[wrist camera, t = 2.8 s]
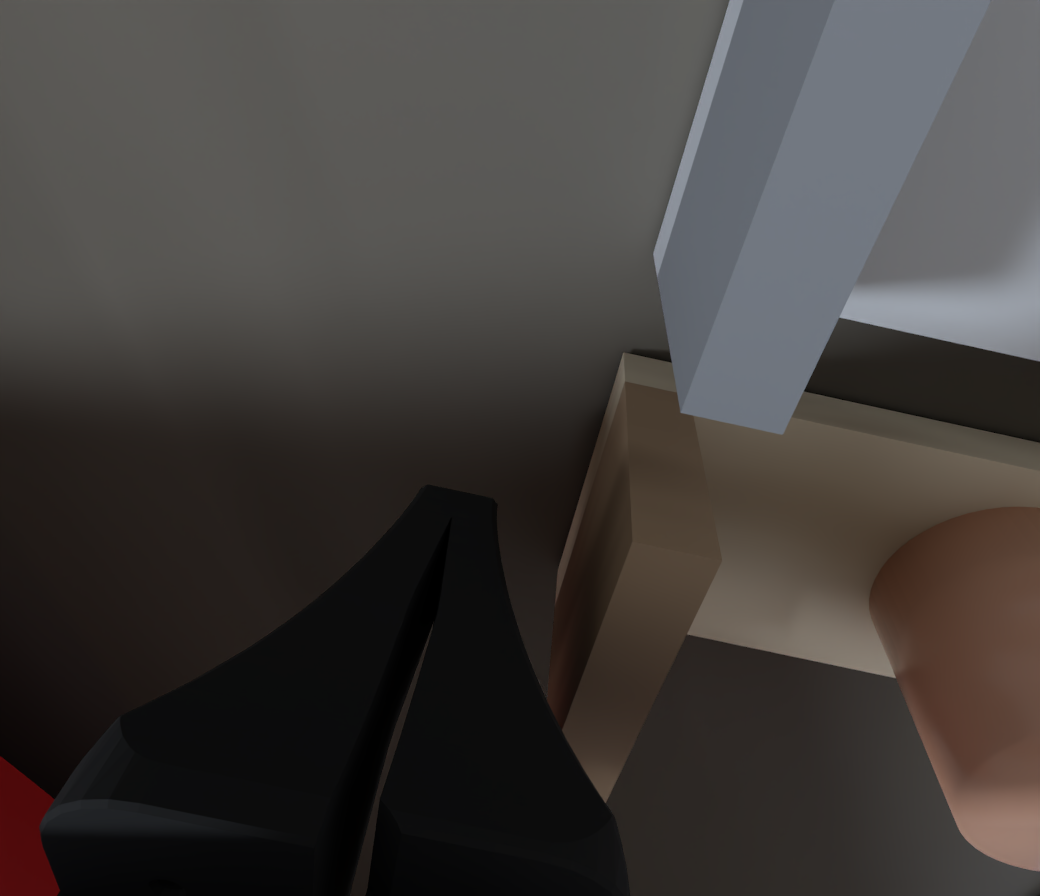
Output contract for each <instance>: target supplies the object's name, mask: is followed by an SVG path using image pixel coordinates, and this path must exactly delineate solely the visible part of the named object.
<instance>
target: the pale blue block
mask: <svg viewBox="0 0 1040 896" xmlns="http://www.w3.org/2000/svg"><path fill="white" fill-rule="evenodd" d="M653 256H654V261H655V267H656V273H657V279H658V285H659V290H660V296H661V302H662V308H663V314H664V319H665V325H666V331H667V337H668V343H669V348H670V354H671V360H672V366H673V372H674V378H675V383H676V389H677V395H678V401H679V407H680V412H681V413H684V414H688V415H693V416H698V417H702V418H707V419H711V420H716V421H721V422H725V423H730V424H735V425H739V426H744V427H748V428H753V429H758V430H762V431H767V432H772V433H776V434H781V435H783V433H784V431H785V429H786V427H787V425H788V423H789V421H790V419H791V417H792V415H793V412H794V410H795V408H796V406H797V404H798V402H799V400H800V398H801V396H802V394H803V392H804V390H805V388H806V385H807V383H808V381H809V379H810V377H811V375H812V373H813V371H814V369H815V367H816V365H817V363H818V360H819V358H820V356H821V354H822V352H823V350H824V348H825V346H826V344H827V342H828V340H829V338H830V335H831V333H832V331H833V329H834V327H835V325H836V323H837V321H838V319H839V317H840V318H844V319H849V320H853V321H858V322H862V323H867V324H872V325H876V326H881V327H885V328H890V329H894V330H899V331H903V332H908V333H912V334H917V335H922V336H926V337H931V338H935V339H940V340H944V341H949V342H953V343H958V344H962V345H967V346H972V347H976V348H981V349H985V350H990V351H994V352H999V353H1003V354H1008V355H1012V356H1017V357H1022V358H1026V359H1031V360H1035V361H1040V0H730V1H729V5H728V8H727V11H726V14H725V18H724V21H723V24H722V28H721V31H720V34H719V38H718V41H717V44H716V48H715V51H714V54H713V58H712V61H711V64H710V67H709V71H708V74H707V77H706V81H705V84H704V87H703V91H702V94H701V97H700V101H699V104H698V107H697V111H696V114H695V117H694V120H693V124H692V127H691V130H690V134H689V137H688V140H687V144H686V147H685V150H684V154H683V157H682V160H681V164H680V167H679V170H678V173H677V177H676V180H675V183H674V187H673V190H672V193H671V197H670V200H669V203H668V207H667V210H666V213H665V217H664V220H663V223H662V226H661V230H660V233H659V236H658V240H657V243H656V246H655V250H654V253H653Z"/></svg>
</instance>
